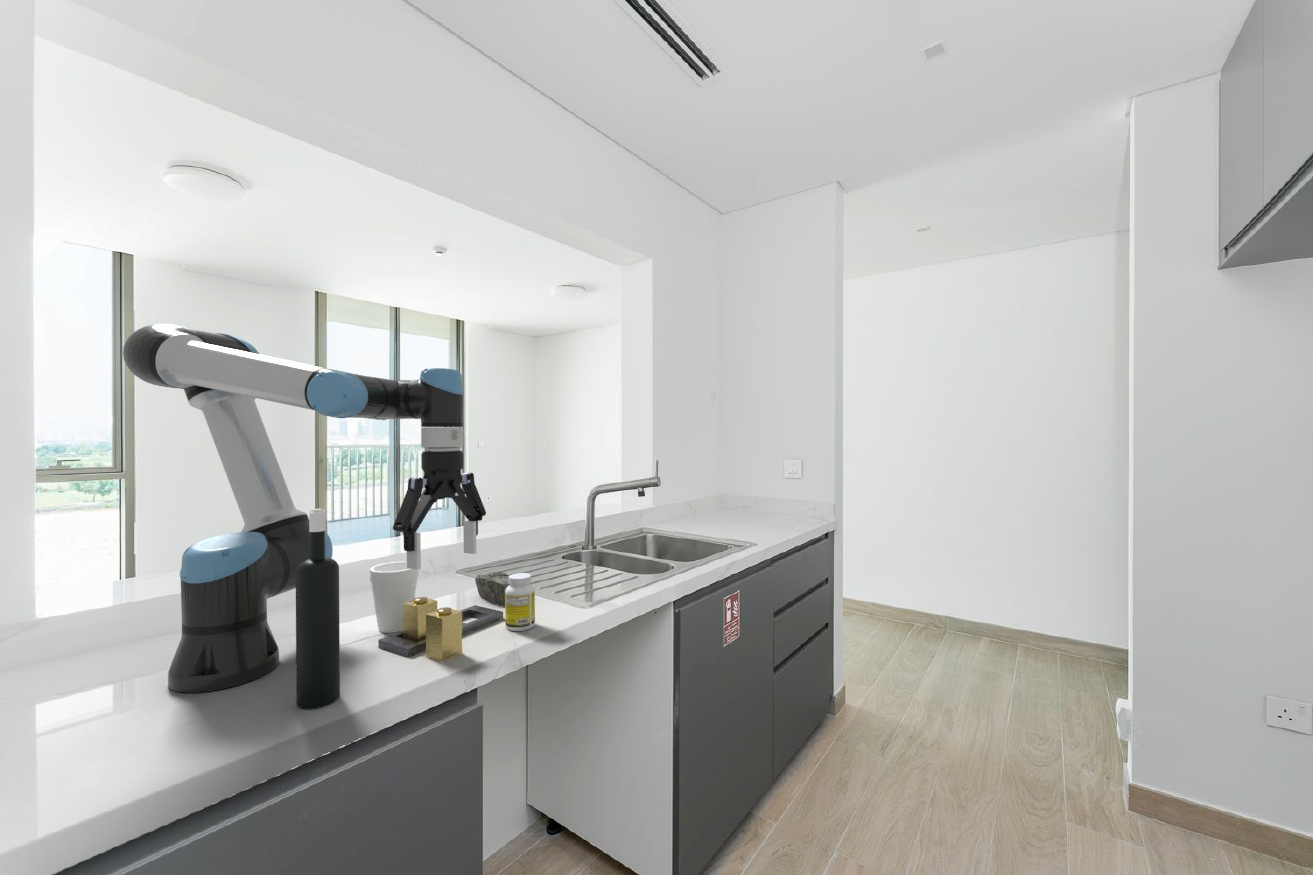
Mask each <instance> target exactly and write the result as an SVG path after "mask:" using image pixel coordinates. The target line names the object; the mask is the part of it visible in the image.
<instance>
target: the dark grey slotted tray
mask: <svg viewBox="0 0 1313 875" xmlns="http://www.w3.org/2000/svg"><path fill="white" fill-rule="evenodd" d="M459 611H462V620H463V619H465V618H468V617H473V618H477V619H475V620H472V621H469V622H463V621H462V636H463V635H466V634H468V633H470V632H473V631H476V630H478V629H481V628H483V627H485V626H488V625H490V624H493V623H495V622H498V621H500V620H503V619H504V611H503V610H502V611H501V610H498V609H493V608H488V607H484V606H480V605H472V606H469V607H466V608H464V609H460V610H459ZM377 646H378V648H380V649H383V650H385V651H387V652H388V651H389V652H392V653H395V654H398V655H401V656H405V657H407V658H410V657H411V656H414V655H417V654H419V653H421V652H424V651H426V639H425V640H422V641H420V642H417V643H416V642H413V641H410V640H406V639H403V630H402V631H397V632H395V633H393V634H391V635H387V636H385V637H382V638H379V639H378V645H377Z"/></svg>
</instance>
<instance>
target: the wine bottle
mask: <svg viewBox="0 0 1313 875" xmlns="http://www.w3.org/2000/svg"><path fill="white" fill-rule="evenodd" d="M308 516H309V517H308V518H309V532H310V559H308V560H306V561H304V562H302V563H301V564H300V565H299V566H298V567H297V569H296V588H295V658H296V659H295V669H296V670H295V677H296V678H295V680H296V683H295V684H296V685H295V686H296V687H295V688H296V689H295V690H296V697H295V698H296V701H295V702H296V704H295V705H296V707H297V708H299V709H301V710H313V709H319V708H323V707H326V706H329V705H331V704H333V703H334V702H336V701H337V700H338V699H339V698H340V697H341V694H340V693H341V690H340V689H341V686H340V684H341V682H340V681H341V679H340V678H341V676H340V675H341V673H340V671H341V670H340V669H341V667H340V665H341V664H340V663H341V662H340V661H341V660H340V658H341V657H340V648H341V646H340V644H341V643H340V566H339V563H338V562H337V561H336V560H335V559H333V558H332V559H331V558H327V557H325V532H326V529H327V528H326V524H327V523H326V510H325V509H324V508H321V507H320V508H313V509H312V508H311V509H309V513H308Z"/></svg>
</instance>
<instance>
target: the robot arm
mask: <svg viewBox="0 0 1313 875" xmlns="http://www.w3.org/2000/svg"><path fill="white" fill-rule="evenodd" d="M122 356H123V360H124V364H125V365H126V367H127V368H128V369H129V371H130V372H131V373H132V374H133V375H134V376H135V377H137V378H139V379H140V380H142V381H143V382H144V383H145V382H146V383H148V384H151V385H153V386H158V387H164V388H171V389H180V390H182V389H183V391H184V393H185V396H186V397H185V398H186V399H187V401H188V405H189V406H191V408H192V407H193V408H195V409H197V410H199V411H201V412H202V414H203V416H204V420H205V422H206V425H207V426H208V430H209V432H210V436H211V438H212V441H213V443H214V446H215V449H216V451H217V453H218V456H219V459H220V461H221V465H222V466H223V469H224V472H225V475H226V478H227V480H228V483H229V486H230V488H231V492H232V493H233V496H234V499H235V501H236V503H237V507H238V510H239V512H240V514H241V518H242V520H243V522H244V525H243V527H242V529H241V531H240V532H232V533H227V534H224V535H223V534H221V535H215V536H212V537H209V538H205V539H203V540H200V541H198V542H196V543H193V544H191V545H190V546H188V547H187V548H186V549H185V551H184V552H183V554H182V555H181V566H180V567H181V568H180V571H179V577H180V603H181V605H180V606H181V637H180V640H179V642H178V645H177V647H176V650H175V654H174V656H173V658H172V660H171V663H170V666H169V669H168V672H167V685H168V686H167V687H168V689H169V690H171V691H174V692H179V693H204V692H211V691H217V690H223V689H227V688H230V687H236V686H238V685H239V686H240V685H242V684H245V683H249V682H251V681H253V680H255V679H258V678H261V677H263V676H265V675H266V674H268V673H271V671H273V670H274V669H275V668H276V667H278V665H279V664H280V648H279V646H278V644H277V642H276V639H275V637H274V634H273V632H272V630H271V627H270V625H269V622H268V599H271V598H273V597H276V596H278V595H279V596H280V595H281V594H283V593H287V592H288V591H292V590H296V569H297V567H298V566H299V565H300V564H301V563H302V562H304V561H306V560H308V559H310V532H309V517H308V516H309V515H308V514H307V512H305V511H302V510H300V509H297V508H296V506H295V504H294V501H293V499H292V496H291V494H290V491H289V488H288V485H287V483H286V481H285V480H286V479H285V478H284V475H283V472H282V470H281V467H280V464H279V462H278V460H277V456H276V453H275V451H274V449H273V446H272V443H271V441H270V438H269V435H268V432H267V430H266V427H265V425H264V424H265V423H264V422H263V418H262V417H261V414H260V412H259V409H258V406H257V403H256V399H260V400H264V401H269V402H273V403H277V404H281V405H282V404H283V405H287V406H292V407H298V408H302V409H305V410H306V409H307V410H310V411H311V410H312V411H315V412H317V413H318V414H320V415H322V416H325V417H331V418H336V419H348V418H353V419H354V418H357V419H359V418H361V419H368V420H369V419H370V420H376V421H377V420H378V421H379V420H381V421H386V420H409V419H410V420H411V419H414V420H420V429H421V430H420V448H421V449H424V451H423V450H422V452H421V453H420V454H421V455H420V456H421V460H420V461H421V470H422V471H423V477H415V476H414V477H413V476H412V477H409V478H408V480H407V490H406V493H405V495H404V498H403V500H402V503H401V505H400V508H399V510H398V513H397V516H396V518H395V521H394V523H393V525H392V530H393V531H397V532H399V533H402V535H403V550H404V552H406V561H407V568H410V569H416V570H418V569H419V570H421V569H422V567H421V566H422V565H421V564H422V563H421V562H422V560H421V559H422V558H421V556H422V554H421V553H422V552H421V546H422V542H421V540H422V539H421V532H418V529H419V528H420V526H421V525H422V523H423V521H424V520H425V518H426V516H427V515H428V513H429V512H430V510H431V508H432V506H433V505H434V504H435V503H437V502H438V500H444V499H452V500H453V502H454V503H455V505H456V506H457V507H458V509H459V511H461V513H462V514H463V516H464V517H465V518H466V520H463V554H470V555H475V554H477V536H478V535H479V534H478V533H479V522H481V521H482V520H483V517H485V516H486V515H487V511H486V509H485V507H484V504H483V501H482V499H481V496H480V494H479V491H478V488H477V486H476V482H475V475H474V473H473V472H461V471H462V470H463V469H464V465H465V463H464V452H463V450H461V449H462V448H463V447H464V423H463V422H464V421H463V419H464V418H463V417H464V395H465V393H464V392H465V391H464V389H463V388H464V385H463V374H462V373H461V372H460V371H459V370H457V369H453V368H444V367H442V368H441V367H429V368H423V369H422V370H421V371H420V376H419V379H410V380H409V379H404V380H403V379H390V378H389V379H387V378H382V377H376V376H374V377H373V376H367V375H362V374H357V373H350V372H346V371H341V370H337V369H331V368H325V367H322V366H317V365H312V364H307V363H302V362H298V361H293V360H289V359H288V360H287V359H284V358H283V359H282V358H278V357H273V356H267V355H263V354H260V353H259V351H258V350H257V349H256V348H255V346H253V345H252V344H251V343H249V342H248V341H246V340H245V339H242V338H239V337H235V336H233V335H230V334H226V333H221V332H219V333H218V332H211V331H205V330H200V329H195V328H191V327H185V326H181V325H176V324H170V323H169V324H168V323H155V324H149V325H146V326H143V327H141V328H138V329H137V330H136V331H134V332H132V333H131V334H130V335H129V336H128V337H127V339H126V341H125V342H124V345H123V350H122ZM325 557H327V558H331V559H333V542H332V539H331V537H330V535H329V534H328V532H327V531H325Z"/></svg>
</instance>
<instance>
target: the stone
mask: <svg viewBox="0 0 1313 875" xmlns="http://www.w3.org/2000/svg"><path fill="white" fill-rule="evenodd" d="M509 576H510V575H509V574H507V573H506V572H502V571H501V572H500V571H499V572H495V571H494V572H489V573H488V574H476V575H475V580H474V581H475V585H476V588H477V592H478V595H479V597H480V598H481V599H483V600H484V599H486V600H487V601H489V602H491V603H494V604H495V605H503V606H505V590H506V588H507V587H508V586H509V585H510V584H509Z"/></svg>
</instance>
